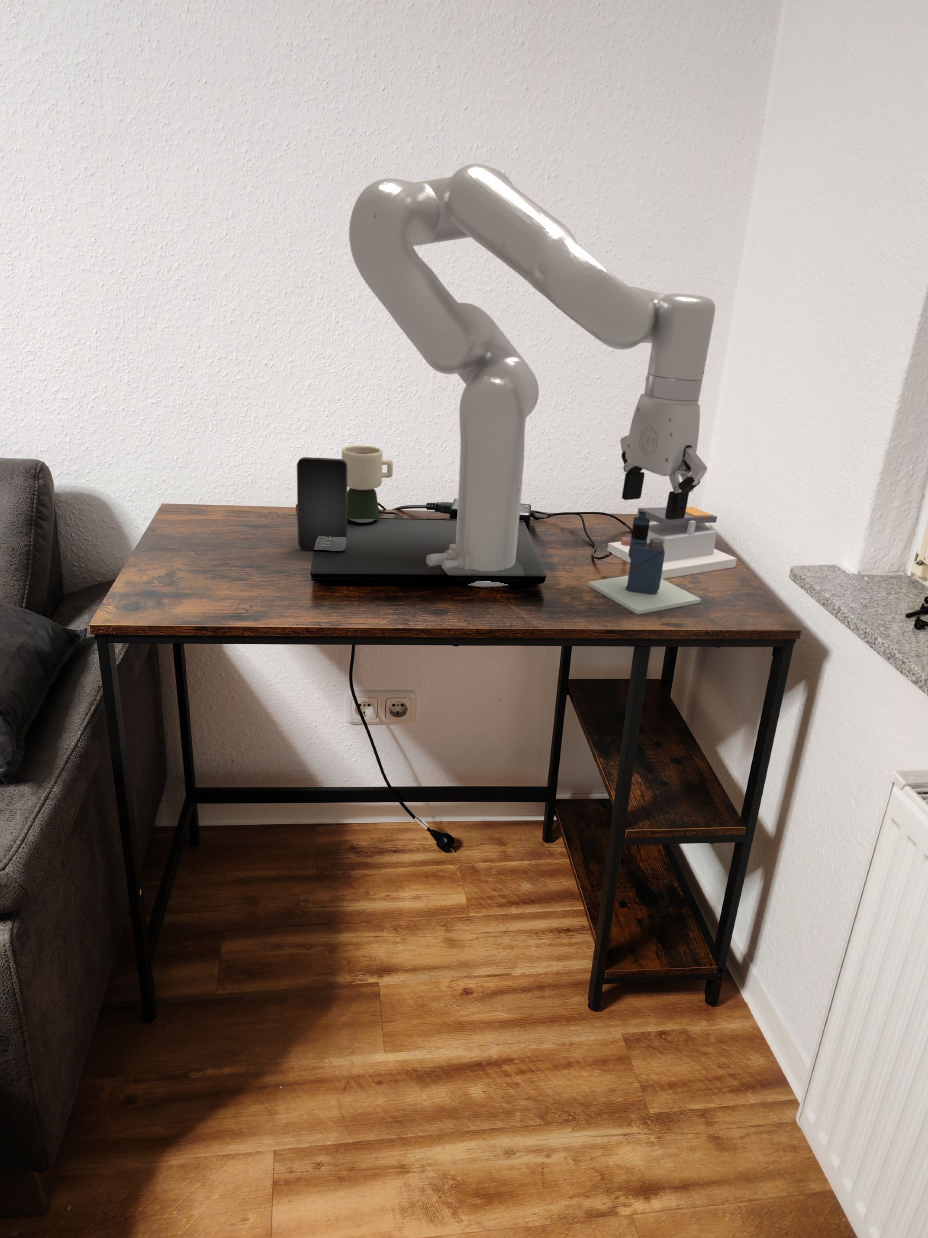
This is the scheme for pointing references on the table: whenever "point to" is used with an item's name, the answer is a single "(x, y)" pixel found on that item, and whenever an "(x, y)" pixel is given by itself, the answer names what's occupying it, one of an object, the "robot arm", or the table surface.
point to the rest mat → (644, 595)
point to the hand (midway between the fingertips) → (652, 508)
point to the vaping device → (644, 558)
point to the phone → (321, 499)
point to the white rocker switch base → (681, 549)
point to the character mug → (364, 479)
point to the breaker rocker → (690, 515)
